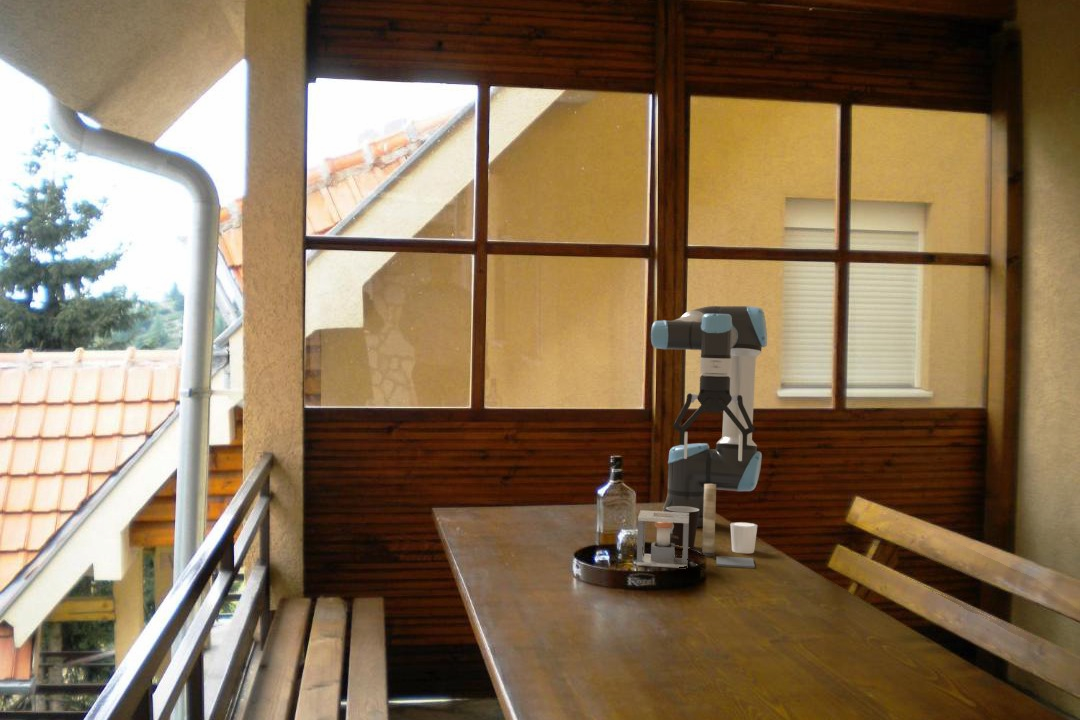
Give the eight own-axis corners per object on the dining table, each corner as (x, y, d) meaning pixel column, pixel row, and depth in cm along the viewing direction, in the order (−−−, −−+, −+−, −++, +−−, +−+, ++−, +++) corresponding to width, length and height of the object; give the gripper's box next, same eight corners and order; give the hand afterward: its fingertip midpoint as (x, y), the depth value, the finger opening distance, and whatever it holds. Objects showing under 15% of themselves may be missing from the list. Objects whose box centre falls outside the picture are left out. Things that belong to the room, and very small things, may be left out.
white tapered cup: (749, 555, 263) (750, 527, 263) (724, 551, 267) (725, 524, 267) (761, 551, 269) (761, 524, 268) (736, 547, 273) (737, 520, 273)
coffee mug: (700, 551, 266) (701, 512, 266) (666, 550, 267) (667, 511, 266) (694, 541, 278) (695, 504, 278) (662, 540, 278) (663, 503, 278)
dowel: (702, 553, 263) (704, 483, 263) (713, 554, 263) (716, 484, 262) (702, 556, 260) (704, 485, 260) (714, 557, 260) (716, 485, 259)
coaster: (716, 558, 259) (716, 556, 259) (752, 560, 257) (752, 558, 257) (716, 566, 250) (716, 564, 250) (754, 568, 248) (754, 566, 248)
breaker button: (654, 542, 255) (655, 519, 254) (672, 543, 254) (673, 520, 254) (653, 546, 250) (654, 522, 250) (671, 547, 250) (672, 523, 249)
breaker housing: (639, 556, 258) (640, 510, 258) (687, 559, 256) (689, 512, 256) (636, 565, 248) (638, 517, 248) (687, 568, 246) (688, 520, 246)
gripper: (664, 374, 258) (662, 458, 259) (766, 377, 254) (764, 463, 255) (665, 372, 265) (663, 455, 266) (764, 375, 262) (762, 459, 262)
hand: (712, 459), depth 261 cm, fingers open, 13 cm apart
